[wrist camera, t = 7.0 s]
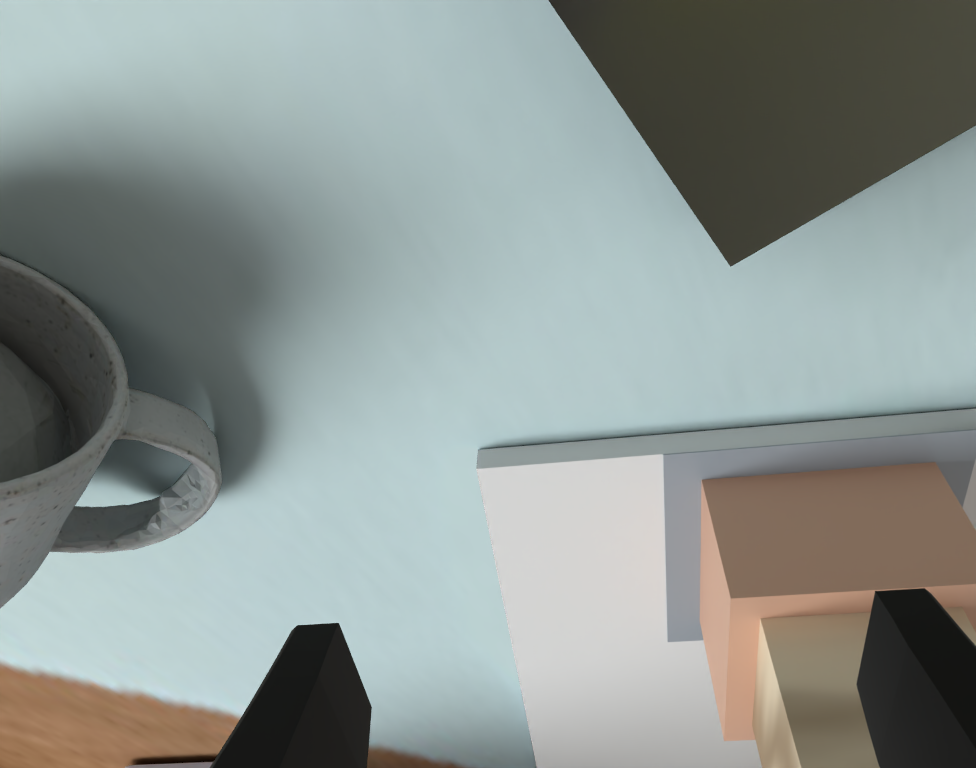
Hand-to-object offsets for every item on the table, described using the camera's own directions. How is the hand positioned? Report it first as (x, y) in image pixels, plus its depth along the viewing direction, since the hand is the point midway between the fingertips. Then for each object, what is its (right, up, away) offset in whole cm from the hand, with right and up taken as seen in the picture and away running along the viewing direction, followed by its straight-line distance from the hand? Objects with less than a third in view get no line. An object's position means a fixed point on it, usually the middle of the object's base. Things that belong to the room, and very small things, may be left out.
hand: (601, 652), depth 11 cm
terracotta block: (+8, -1, +12) cm, 14 cm away
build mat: (+6, -5, +16) cm, 18 cm away
